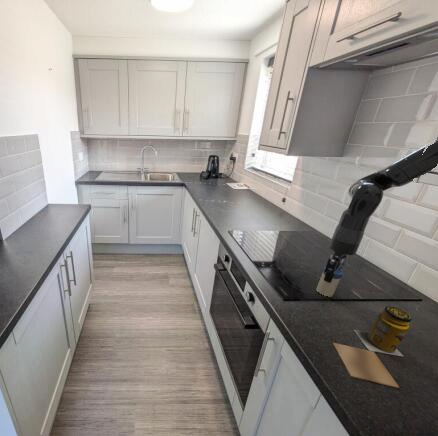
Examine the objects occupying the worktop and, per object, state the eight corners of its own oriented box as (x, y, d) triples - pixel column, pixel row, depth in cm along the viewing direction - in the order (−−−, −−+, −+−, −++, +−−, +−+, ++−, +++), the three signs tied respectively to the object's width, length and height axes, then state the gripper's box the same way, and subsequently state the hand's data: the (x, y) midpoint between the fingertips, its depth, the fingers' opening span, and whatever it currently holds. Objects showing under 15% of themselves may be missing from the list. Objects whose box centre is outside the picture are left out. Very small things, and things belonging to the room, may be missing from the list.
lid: (321, 268, 89) (323, 264, 88) (339, 272, 87) (340, 268, 86) (324, 276, 84) (326, 272, 83) (343, 280, 82) (345, 276, 81)
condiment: (403, 356, 64) (424, 324, 59) (369, 350, 65) (386, 318, 61) (383, 335, 70) (401, 304, 66) (352, 330, 72) (367, 299, 67)
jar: (328, 288, 90) (337, 268, 87) (335, 298, 86) (345, 277, 82) (313, 286, 91) (321, 266, 88) (319, 295, 87) (328, 274, 83)
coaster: (373, 352, 65) (373, 351, 65) (398, 388, 56) (399, 387, 56) (332, 343, 67) (332, 342, 67) (350, 376, 58) (351, 375, 58)
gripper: (340, 229, 86) (326, 267, 93) (325, 239, 78) (311, 279, 85) (366, 237, 81) (349, 277, 87) (353, 248, 73) (335, 291, 79)
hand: (330, 278), depth 86 cm, fingers closed on lid, 5 cm apart
